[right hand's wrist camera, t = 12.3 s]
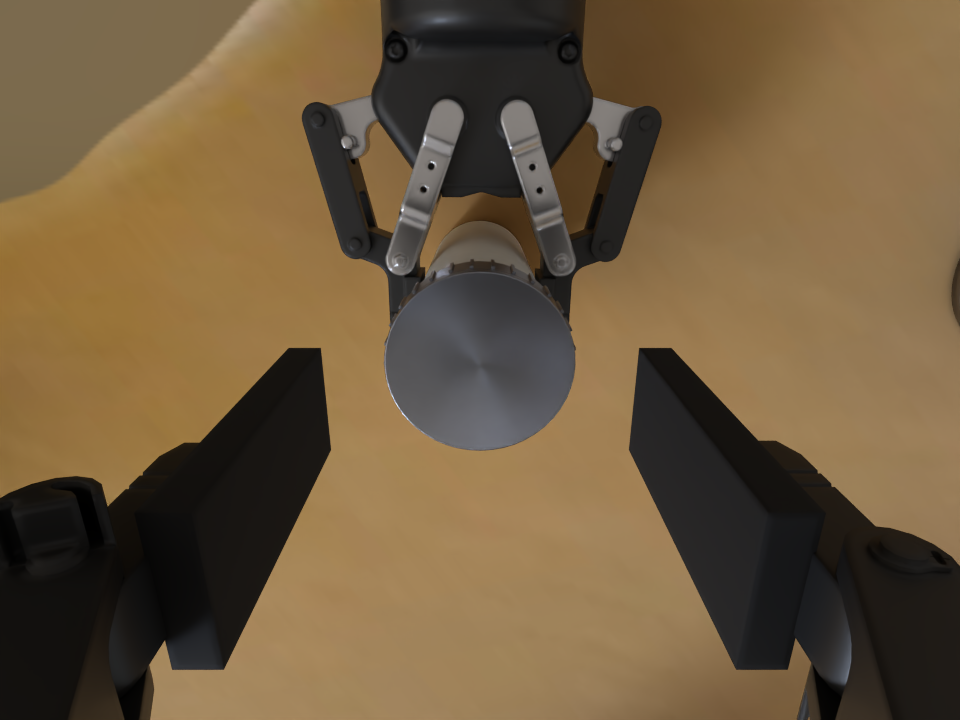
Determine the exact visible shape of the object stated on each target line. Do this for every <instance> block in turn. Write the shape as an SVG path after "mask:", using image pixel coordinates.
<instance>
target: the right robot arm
mask: <svg viewBox="0 0 960 720" xmlns="http://www.w3.org/2000/svg"><path fill="white" fill-rule="evenodd" d="M330 451H331V445H330V435H329V425H328V415H327V405H326V396H325V386H324V376H323V366H322V356H321V348H288V349H287V350H286V352H285V353H284V354H283V355H282V356H281V357H280V358H279V359H278V360H277V361H276V362H275V363H274V364H273V365H272V366H271V368H270V369H269V370H268V371H267V372H266V373H265V374H264V375H263V376H262V377H261V378H260V379H259V380H258V381H257V382H256V383H255V385H254V386H253V387H252V388H251V389H250V390H249V391H248V392H247V393H246V394H245V395H244V396H243V397H242V398H241V399H240V401H239V402H238V403H237V404H236V405H235V406H234V407H233V408H232V409H231V410H230V411H229V412H228V413H227V414H226V415H225V417H224V418H223V419H222V420H221V421H220V422H219V423H218V424H217V425H216V426H215V427H214V428H213V429H212V430H211V431H210V432H209V434H208V435H207V436H206V437H205V438H204V439H203V440H202V441H201V442H200V443H183V444H181V445H179V446H178V447H176V448H174V449H172V450H170V451H168V452H167V453H165V454H163V455H161V456H159V457H158V458H157V459H156V460H155V461H154V462H153V463H152V464H151V465H150V466H149V467H148V468H147V469H146V470H145V471H144V472H143V476H139V477H138V478H137V479H136V480H135V481H134V482H133V483H132V484H131V485H130V486H129V489H125V490H124V491H123V492H122V493H121V494H120V495H119V496H118V497H117V498H116V499H115V500H114V501H113V502H112V503H111V504H110V505H109V506H108V507H107V503H106V499H105V495H104V491H103V488H102V484H101V483H99V482H98V481H96V480H94V479H93V478H86V477H78V476H74V477H63V478H54V479H50V480H46V481H42V482H38V483H34V484H31V485H28V486H26V487H23V488H20V489H18V490H15V491H13V492H10V493H8V494H7V495H5V496H3V497H1V498H0V720H150V716H151V709H152V702H153V694H154V685H153V678H152V674H151V670H150V666H149V664H150V663H151V661H152V659H153V658H154V656H155V655H156V653H157V652H158V650H159V648H160V647H161V645H162V644H163V642H164V641H165V642H166V646H167V650H168V654H169V658H170V662H171V666H172V670H224V668H225V666H226V664H227V662H228V660H229V658H230V656H231V654H232V652H233V650H234V648H235V646H236V644H237V641H238V639H239V637H240V635H241V633H242V631H243V629H244V627H245V625H246V623H247V621H248V619H249V617H250V615H251V613H252V611H253V609H254V607H255V605H256V603H257V600H258V598H259V596H260V594H261V592H262V590H263V588H264V586H265V584H266V582H267V580H268V578H269V576H270V574H271V572H272V570H273V568H274V566H275V564H276V562H277V559H278V557H279V555H280V553H281V551H282V549H283V547H284V545H285V543H286V541H287V539H288V537H289V535H290V533H291V531H292V529H293V527H294V525H295V523H296V521H297V518H298V516H299V514H300V512H301V510H302V508H303V506H304V504H305V502H306V500H307V498H308V496H309V494H310V492H311V490H312V488H313V486H314V484H315V482H316V480H317V477H318V475H319V473H320V471H321V469H322V467H323V465H324V463H325V461H326V459H327V457H328V455H329V453H330ZM629 451H630V453H631V455H632V457H633V459H634V461H635V463H636V465H637V467H638V469H639V471H640V473H641V475H642V477H643V480H644V482H645V484H646V486H647V488H648V490H649V492H650V494H651V496H652V498H653V500H654V502H655V504H656V506H657V508H658V510H659V512H660V514H661V516H662V518H663V521H664V523H665V525H666V527H667V529H668V531H669V533H670V535H671V537H672V539H673V541H674V543H675V545H676V547H677V549H678V551H679V553H680V555H681V557H682V559H683V562H684V564H685V566H686V568H687V570H688V572H689V574H690V576H691V578H692V580H693V582H694V584H695V586H696V588H697V590H698V592H699V594H700V596H701V598H702V600H703V603H704V605H705V607H706V609H707V611H708V613H709V615H710V617H711V619H712V621H713V623H714V625H715V627H716V629H717V631H718V633H719V635H720V637H721V639H722V641H723V644H724V646H725V648H726V650H727V652H728V654H729V656H730V658H731V660H732V662H733V664H734V666H735V668H736V670H788V666H789V662H790V658H791V654H792V650H793V646H794V642H795V638H796V639H797V641H798V642H799V644H800V645H801V647H802V648H803V650H804V652H805V653H806V655H807V656H808V658H809V659H810V661H811V662H812V663H811V666H810V670H809V674H808V678H807V682H806V685H805V689H804V693H803V697H802V701H801V705H800V708H799V712H798V716H797V720H807V719H808V717H810V720H960V566H959V565H958V564H957V562H956V561H955V560H954V559H953V558H952V557H951V556H950V555H948V554H947V553H946V552H944V551H943V550H941V549H940V548H938V547H937V546H935V545H934V544H932V543H930V542H928V541H925V540H923V539H921V538H919V537H917V536H915V535H912V534H909V533H905V532H902V531H898V530H895V529H891V528H885V527H876V526H875V525H874V524H873V523H871V522H870V521H869V520H868V519H867V518H866V517H865V516H864V515H863V514H862V513H861V512H860V511H859V510H858V509H857V508H856V507H855V506H854V505H853V504H852V503H851V502H850V501H849V500H848V499H847V498H846V497H845V496H844V495H843V494H841V493H840V492H839V491H838V490H837V489H836V488H835V487H832V486H831V483H830V482H829V481H828V480H827V479H826V478H825V477H824V476H823V475H822V474H818V472H817V471H818V470H817V469H816V468H815V467H814V466H812V465H811V464H810V463H809V462H808V461H807V460H806V459H805V458H804V457H803V456H802V455H801V454H799V453H797V452H796V451H794V450H792V449H790V448H788V447H786V446H785V445H783V444H781V443H779V442H777V441H758V440H757V439H756V438H755V437H754V436H753V435H752V434H751V432H750V431H749V430H748V429H747V428H746V427H745V426H744V425H743V424H742V423H741V422H740V421H739V420H738V419H737V418H736V417H735V415H734V414H733V413H732V412H731V411H730V410H729V409H728V408H727V407H726V406H725V405H724V404H723V403H722V402H721V401H720V399H719V398H718V397H717V396H716V395H715V394H714V393H713V392H712V391H711V390H710V389H709V388H708V387H707V386H706V385H705V383H704V382H703V381H702V380H701V379H700V378H699V377H698V376H697V375H696V374H695V373H694V372H693V371H692V370H691V369H690V368H689V366H688V365H687V364H686V363H685V362H684V361H683V360H682V359H681V358H680V357H679V356H678V355H677V354H676V353H675V352H674V350H673V349H672V348H639V356H638V366H637V376H636V386H635V395H634V405H633V415H632V425H631V435H630V445H629Z"/></svg>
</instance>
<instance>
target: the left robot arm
mask: <svg viewBox="0 0 960 720" xmlns="http://www.w3.org/2000/svg"><path fill="white" fill-rule="evenodd" d="M584 16H585V0H381V21H382V44H383V58H382V64H381V69H380V72H379V75H378V77H377V79H376V82H375V83H374V86H373V89H372V93H371V95H370V96H366V97H362V98H358V99H354V100H350V101H346V102H342V103H338V104H334V105H327V104H323V103H320V102H313V103H311V104H309V105H307V106H306V107H305V109H304V111H303V114H302V122H303V126H304V129H305V132H306V135H307V139H308V142H309V145H310V148H311V152H312V155H313V158H314V161H315V165H316V168H317V171H318V174H319V178H320V181H321V184H322V187H323V191H324V194H325V197H326V200H327V204H328V207H329V210H330V213H331V217H332V220H333V223H334V226H335V230H336V233H337V236H338V239H339V243H340V246H341V249H342V251H343V252H344V254H345V255H346V256H348V257H350V258H352V259H363V260H366V261H369V262H371V263H374V264H377V265H378V266H380V267H381V268H382V269H383V270H384V271H385V272H386V274H387V277H388V283H389V305H390V322H391V320H392V319H393V317H394V315H395V313H396V314H398V312H399V310H400V309H399V308H398V307H399V305H400V304H401V302H402V300H403V298H404V297H408V296H409V294H410V293H411V292H412V290H413V288H414V286H415V284H416V283H417V282H419V283H421V282H422V281H423V280H424V279H425V267H420V255H421V252H422V249H423V246H424V243H425V240H426V237H427V234H428V232H429V229H430V226H431V223H432V220H433V218H434V215H435V212H436V210H437V207H438V204H439V201H440V198H441V195H442V197H464V196H467V195H471V194H475V193H479V192H484V193H488V194H491V195H495V196H498V197H509V198H522V201H523V204H524V207H525V210H526V213H527V215H528V218H529V221H530V224H531V227H532V230H533V233H534V236H535V239H536V242H537V245H538V248H539V251H540V254H541V257H540V269H535V280H536V281H537V282H539V283H540V284H541V285H542V286H543V287H544V286H545V285H546V286H547V287H548V289H549V291H550V293H551V295H552V297H553V299H554V301H555V302H556V301H557V300H558V302H559V303H560V305H561V307H562V309H563V311H564V313H562V315H563V317H564V318H566V319H567V321H568V322H569V313H570V299H571V283H572V279H573V276H574V274H575V273H576V272H577V271H578V270H579V269H580V268H582V267H584V266H586V265H589V264H592V263H595V262H598V261H602V262H608V261H612V260H613V259H615V258H616V257H617V256H618V255H619V253H620V251H621V248H622V245H623V241H624V238H625V235H626V232H627V229H628V226H629V223H630V220H631V217H632V214H633V211H634V208H635V205H636V202H637V199H638V195H639V192H640V189H641V186H642V183H643V180H644V177H645V174H646V171H647V168H648V165H649V162H650V159H651V156H652V152H653V149H654V146H655V143H656V140H657V137H658V134H659V131H660V128H661V123H662V120H661V116H660V113H659V112H658V111H657V110H656V109H655V108H653V107H651V106H641V107H636V108H631V107H628V106H624V105H620V104H617V103H613V102H609V101H606V100H602V99H598V98H595V97H593V93H592V89H591V86H590V84H589V82H588V80H587V77H586V75H585V71H584V67H583V59H582V50H583V33H584ZM378 122H379V123H380V124H381V126H382V127H383V128H384V130H385V131H386V133H387V134H388V135H389V137H390V138H391V140H392V141H393V142H394V144H395V145H396V147H397V148H398V149H399V151H400V152H401V153H402V155H403V156H404V158H405V159H406V160H407V162H408V163H409V165H410V166H411V167H412V169H413V171H412V174H411V177H410V180H409V183H408V187H407V190H406V193H405V196H404V199H403V202H402V205H401V208H400V213H399V218H398V221H397V224H396V227H395V230H394V233H390V232H388V231H385V230H382V229H380V228H378V226H377V223H376V219H375V216H374V212H373V209H372V205H371V202H370V198H369V194H368V191H367V187H366V184H365V180H364V177H363V173H362V170H361V166H360V163H359V159H358V158H361V157H363V156H365V155H366V154H367V152H368V151H369V148H370V139H369V134H370V130H371V128H372V127H373V126H374V125H375V124H376V123H378ZM584 124H587V125H588V126H589V127H590V128H591V129H592V131H593V134H594V144H593V148H594V152H595V154H596V155H597V157H599V158H600V159H602V160H605V161H604V165H603V168H602V171H601V174H600V178H599V181H598V184H597V188H596V191H595V194H594V198H593V201H592V204H591V208H590V211H589V214H588V218H587V221H586V224H585V228H584V230H581V231H579V232H576V233H573V234H570V235H569V234H568V231H567V228H566V224H565V221H564V217H563V211H562V207H561V204H560V201H559V197H558V194H557V191H556V188H555V184H554V181H553V178H552V175H551V171H550V170H551V169H552V168H553V166H554V165H555V164H556V162H557V161H558V159H559V158H560V157H561V155H562V154H563V153H564V151H565V150H566V149H567V147H568V146H569V145H570V143H571V142H572V141H573V139H574V138H575V137H576V135H577V134H578V132H579V131H580V130H581V128H582V127H583V126H584ZM952 305H953V310H954V314H955V317H956V319H957V322H958V324H959V326H960V260H959V262H958V264H957V267H956V270H955V274H954V278H953V284H952Z"/></svg>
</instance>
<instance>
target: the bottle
mask: <svg viewBox="0 0 960 720" xmlns="http://www.w3.org/2000/svg"><path fill="white" fill-rule="evenodd" d="M470 259H474V261H488V262H491V259H493V260H494V261H495V262H496V263H501V264H505V265H508V266H510V265H511V264H513V265H514V266H515V268H516V269H518V270H520V271H522V272H524V273H526V274H529V273H531V274H532V275H533V273H532V271H531V268H530V266H529V264H528V261H527V259H526V257H525V254H524V252H523V250H522V247H521V245H520V244H519V242H518V240H517V239H516V238H515V237H514V235H513V234H512V233H510V232H509V231H508V230H507V229H505V228H504V227H502V226H500V225H498V224H495V223H492V222H488V221H472V222H467V223H464V224H462V225H460V226H458V227H456V228H454V229H453V230H452V231H450V232H449V233H448V234H447V235H446V236H445V238H444V239H443V240H442V242H441V243H440V245H439V247H438V249H437V251H436V254H435V256H434V258H433V261H432V263H431V265H430V268H429V270H428V272H427V275H426V277H425V279H426V278H428V277H429V276H430V275H431V272H432V271H434V270H435V272H437V271H439V270H441V269H443V268H446V267H449V266H450V263H454V265H455V264H459V263H464V262H470ZM533 277H534V275H533ZM425 279H424V280H425ZM534 279H535V278H534Z"/></svg>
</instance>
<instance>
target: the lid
mask: <svg viewBox="0 0 960 720" xmlns="http://www.w3.org/2000/svg"><path fill="white" fill-rule="evenodd" d="M398 308H399V309H400V310H399V312H398V314H396V313H395V315H394V317H393V319H392V320H391V322H390V325H389V326H390V327H391V329H390V331H389V335H388V337H387V339H386V341H385V344H384V345H385V346H386V347H385V354H384V367H385V375H386V380H387V383H388V387H389V390H390V392H391V395H392V397H393V399H394V401H395V403H396V404H397V406H398V408H399V409H400V411H401V412H402V413H403V414H404V416H405V417H406V418H407V419H408V420H409V421H410V422H411V423H412V424H413V425H414V426H415V427H416V428H417V429H419V430H420V431H421V432H423V433H424V434H425V435H427V436H429V437H431V438H432V439H434V440H436V441H438V442H441V443H443V444H445V445H449V446H452V447H455V448H460V449H466V450H479V451H481V450H494V449H499V448H504V447H508V446H511V445H514V444H517V443H519V442H521V441H523V440H526V439H527V438H529V437H531V436H532V435H534V434H536V433H537V432H538V431H540V430H541V429H542V428H544V427H545V426H546V425H547V424H548V423H549V422H550V421H551V420H552V419H553V418H554V417H555V415H556V414H557V413H558V411H559V410H560V409H561V407H562V405H563V404H564V402H565V400H566V398H567V396H568V394H569V391H570V389H571V386H572V382H573V378H574V372H575V350H576V347H575V345H574V343H573V339H572V336H571V333H570V331H572V329H571V326H570V324H569V322H568V321H567V319H566V318H564V317H563V315H562V313H564V311H563V309H562V307H561V305H560V303H559V302H558V300H557V301H556V302H555V301H554V299H553V297H552V295H551V293H550V291H549V289H548V287H547V286H546V285H545V286H544V287H543V286H542V285H541V284H540V283H539V282H537V281H536V280H535V279H534V277H533V275H532V274H531V273H529V274H526V273H524V272H522V271H520V270H518V269H516V268H515V266H514V265H513V264H511V265H510V266H508V265H505V264H501V263H496V262H495V261H494V260H493V259H491V262H488V261H474V259H470V262H464V263H459V264H455V265H454V263H450V266H449V267H446V268H443V269H441V270H439V271H437V272H435V270H434V271H432V272H431V275H430V276H429V277H428V278H426V279H425V280H423V281H422V282H421V283H419V282H417V283H416V284H415V286H414V288H413V290H412V292H411V293H410V294H409V296H408V297H404V298H403V300H402V302H401V304H400V305H399V307H398Z"/></svg>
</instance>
